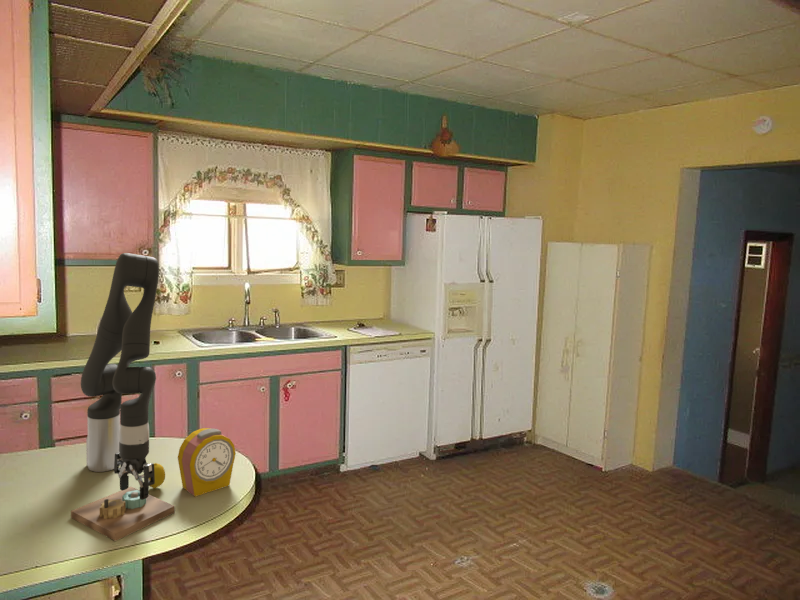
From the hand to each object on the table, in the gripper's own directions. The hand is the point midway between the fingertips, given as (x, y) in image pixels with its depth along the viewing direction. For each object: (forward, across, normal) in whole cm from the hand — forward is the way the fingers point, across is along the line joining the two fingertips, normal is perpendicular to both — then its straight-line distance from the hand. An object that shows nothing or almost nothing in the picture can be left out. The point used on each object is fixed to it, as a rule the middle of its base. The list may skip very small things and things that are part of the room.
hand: (134, 493), depth 164 cm
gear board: (+5, 0, -3) cm, 6 cm away
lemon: (+5, -6, +12) cm, 14 cm away
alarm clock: (+5, +5, +22) cm, 23 cm away
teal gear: (+3, 0, 0) cm, 3 cm away
